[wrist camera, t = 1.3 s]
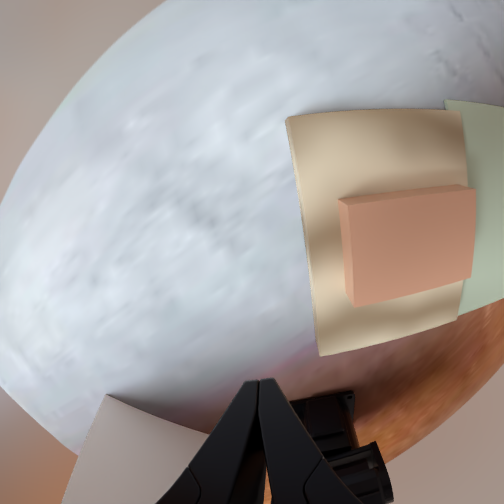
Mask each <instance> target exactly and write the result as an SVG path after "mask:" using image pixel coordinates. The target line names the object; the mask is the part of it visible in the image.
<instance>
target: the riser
mask: <svg viewBox="0 0 504 504" xmlns="http://www.w3.org/2000/svg"><path fill="white" fill-rule="evenodd" d="M285 124H286V129H287V134H288V140H289V145H290V150H291V156H292V162H293V167H294V173H295V179H296V185H297V192H298V198H299V204H300V211H301V218H302V224H303V232H304V239H305V246H306V254H307V262H308V270H309V278H310V287H311V296H312V305H313V315H314V326H315V337H316V343H317V347H318V350H319V354H320V357H321V356H327V355H332V354H336V353H341V352H346V351H350V350H355V349H359V348H363V347H367V346H371V345H375V344H379V343H383V342H387V341H391V340H394V339H398V338H402V337H405V336H409V335H412V334H415V333H419V332H422V331H425V330H428V329H431V328H434V327H437V326H440V325H443V324H446V323H449V322H452V321H455V320H457V316H458V311H459V305H460V299H461V293H462V286H463V280H461V281H458V282H455V283H451V284H448V285H444V286H441V287H437V288H434V289H430V290H426V291H423V292H419V293H415V294H411V295H407V296H403V297H399V298H395V299H391V300H387V301H383V302H378V303H374V304H370V305H365V306H361V307H356V308H354V307H353V305H352V303H351V301H350V300H349V298H348V296H347V294H346V293H345V277H344V262H343V249H342V238H341V227H340V218H339V209H338V200H337V199H342V198H349V197H356V196H363V195H371V194H378V193H386V192H393V191H401V190H410V189H418V188H427V187H436V186H445V185H455V184H459V185H463V186H467V187H468V179H467V163H466V151H465V142H464V134H463V127H462V120H461V114H460V111H453V110H435V109H369V110H350V111H337V112H325V113H316V114H307V115H298V116H291V117H288V118H287V119H286V120H285Z"/></svg>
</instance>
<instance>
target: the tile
mask: <svg viewBox="0 0 504 504" xmlns="http://www.w3.org/2000/svg"><path fill="white" fill-rule="evenodd" d="M337 200H338V209H339V218H340V227H341V238H342V249H343V262H344V277H345V293H346V294H347V296H348V298H349V300H350V301H351V303H352V305H353V307H354V308H356V307H361V306H365V305H370V304H374V303H378V302H383V301H387V300H391V299H395V298H399V297H403V296H407V295H411V294H415V293H419V292H423V291H426V290H430V289H434V288H437V287H441V286H444V285H448V284H451V283H455V282H458V281H461V280H465V279H468V278H471V273H472V265H473V255H474V243H475V226H476V189H474V188H470V187H467V186H463V185H459V184H455V185H445V186H436V187H427V188H418V189H410V190H401V191H393V192H386V193H378V194H371V195H363V196H356V197H349V198H342V199H337Z"/></svg>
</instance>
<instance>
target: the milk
mask: <svg viewBox="0 0 504 504" xmlns="http://www.w3.org/2000/svg"><path fill="white" fill-rule="evenodd" d="M208 436H209V434H206V433H202V432H199V431H196V430H193V429H190V428H187V427H184V426H181V425H178V424H175V423H172V422H170V421H167V420H164V419H161V418H159V417H156V416H154V415H151V414H149V413H146V412H144V411H141V410H139V409H137V408H134V407H132V406H130V405H128V404H125V403H123V402H121V401H119V400H117V399H115V398H112V397H110V396H108V395H106V394H105V397H104V399H103V401H102V403H101V405H100V407H99V410H98V412H97V414H96V416H95V419H94V421H93V423H92V426H91V428H90V430H89V432H88V435H87V437H86V440H85V442H84V444H83V447H82V449H81V452H80V454H79V457H78V459H77V462H76V464H75V467H74V470H73V472H72V475H71V477H70V480H69V483H68V486H67V489H66V492H65V494H64V497H63V500H62V503H61V504H155V503H156V502H157V501H158V500H159V499H160V498H161V497H162V496H163V495H164V494H165V493H166V492H167V491H168V490H169V489H170V487H171V486H172V485H173V484H174V482H175V481H176V480H177V479H178V477H179V476H180V475H181V474H182V472H183V471H184V469H185V468H186V467H188V464H189V463H190V461H191V460H192V459H193V457H194V456H195V454H196V453H197V452H198V450H199V449H200V447H201V446H202V445H203V443H204V442H205V440H206V439H207V437H208Z"/></svg>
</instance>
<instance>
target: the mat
mask: <svg viewBox="0 0 504 504" xmlns="http://www.w3.org/2000/svg"><path fill="white" fill-rule="evenodd" d="M444 104H445V109H446V110H453V111H460V114H461V120H462V127H463V134H464V142H465V151H466V163H467V179H468V187H470V188H474V189H476V226H475V243H474V255H473V265H472V273H471V278H468V279H465V280H463V286H462V293H461V299H460V305H459V311H458V316H459V315H462V314H464V313H467V312H470V311H472V310H475V309H478V308H480V307H483V306H485V305H488V304H490V303H493V302H495V301H498V300H500V299H502V298H504V107H500V106H495V105H489V104H482V103H475V102H467V101H458V100H448V99H446V100H444Z"/></svg>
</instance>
